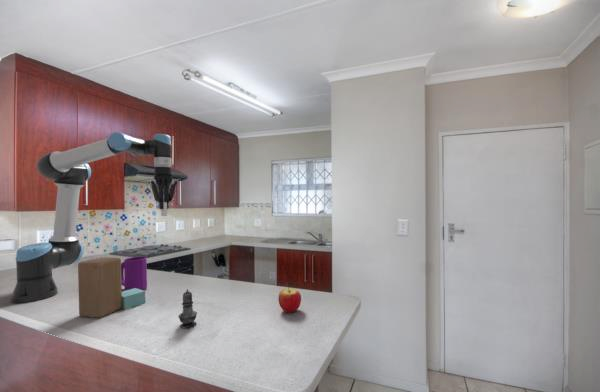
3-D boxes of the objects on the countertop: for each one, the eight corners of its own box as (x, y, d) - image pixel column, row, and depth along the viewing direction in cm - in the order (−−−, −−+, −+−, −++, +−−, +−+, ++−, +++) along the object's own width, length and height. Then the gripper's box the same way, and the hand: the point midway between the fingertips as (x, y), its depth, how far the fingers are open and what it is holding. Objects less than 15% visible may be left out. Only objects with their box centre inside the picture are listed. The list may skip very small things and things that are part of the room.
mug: (134, 294, 127) (133, 261, 127) (110, 291, 133) (109, 259, 133) (151, 288, 135) (151, 256, 135) (128, 285, 141) (128, 255, 141)
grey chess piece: (186, 330, 90) (185, 293, 90) (174, 326, 93) (173, 290, 93) (201, 323, 95) (200, 287, 95) (190, 320, 98) (189, 285, 98)
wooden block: (99, 319, 101) (98, 263, 101) (77, 317, 104) (76, 262, 104) (123, 308, 111) (122, 257, 111) (103, 306, 113) (101, 256, 113)
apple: (290, 304, 110) (289, 279, 110) (306, 310, 104) (305, 283, 104) (274, 311, 104) (273, 284, 104) (289, 317, 98) (288, 288, 98)
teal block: (114, 306, 114) (114, 293, 114) (135, 299, 121) (135, 288, 121) (124, 309, 110) (124, 297, 110) (145, 303, 116) (145, 291, 116)
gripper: (153, 165, 129) (154, 217, 129) (180, 167, 139) (181, 215, 139) (145, 166, 133) (146, 216, 133) (172, 168, 144) (173, 214, 144)
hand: (164, 215), depth 136 cm, fingers closed
